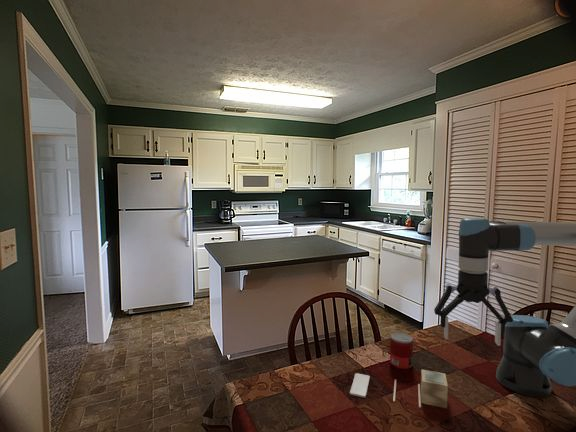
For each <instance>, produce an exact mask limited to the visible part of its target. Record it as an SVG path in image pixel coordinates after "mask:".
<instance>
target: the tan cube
mask: <svg viewBox="0 0 576 432" xmlns="http://www.w3.org/2000/svg"><path fill="white" fill-rule="evenodd" d="M420 371H421V374H420V400H421V404H424V405H429V406H433V407H438V408H443V409H448V393H449V392H448V389H449V387H448V386H449V385H448V380H447V375H446V373H444V372H443V373H442V372H438V371H432V370H428V369H421V370H420Z"/></svg>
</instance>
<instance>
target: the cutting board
mask: <svg viewBox="0 0 576 432" xmlns="http://www.w3.org/2000/svg"><path fill="white" fill-rule="evenodd" d="M353 377H354V378H353V382H352V384H351V387H350V390H349V395H351V396H355V397H358V398H364V399H366V395H367V393H368V386H369V382H370V379H371V378H370V377H371V376H370V375H367V374H364V373H363V374H362V373H356V372H355V374H354V376H353ZM393 386H394V387H393V395H392V396H393V398H392V399H393V400H392V402H393V403H395V402H396V391H397V390H396V389H397V379H396V378H395V379H394V385H393ZM417 390H418V391H417V393H418V408H419V409H421V408H422V405H421V404H422V401H421V383H418V384H417Z"/></svg>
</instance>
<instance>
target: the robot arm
mask: <svg viewBox="0 0 576 432" xmlns="http://www.w3.org/2000/svg"><path fill="white" fill-rule="evenodd" d="M534 246H557V247H558V246H559V247H560V246H561V247H564V246H565V247H576V222H557V221H556V222H555V221H553V222H551V221H549V222H548V221H511V220H509V221H508V220H507V221H505V220H502V221H500V220H489V219H488V218H485V217H484V218H483V217H464V218H462V219H461V220H460V222H459V230H458V269H459V270H458V272H457V273H458V274H457V275H458V276H457V277H458V279H457V280H458V281H457V285H451V284H450V283H447V284H446V286H445V291H444V292H443V294H442V296H441V297H440V300H439V301H438V303H437V304H436V305H435V307H434V309H433V311H434V314H435V315H437V316H439V317H440V320H439V321H440V326H441V328H443V337H444V339H445V340H449V317H448V315H449V314H450V313H452V312H453V311H454V309H456V308H457V307H458V306H459V305H460V304H462V303H463V302H464V301H465V302H466V303H476V304H479V303H481V302H482V303H483V304H484V305H485V306H486V308H488V309H489V311H490V312H491V313H492V314H493V315H494V316H495V318H496V319H495V324H494V325H495V326H494V343H495V344H496V346H498V347H500V346H501V339H502V337H501V336H502V335H503V352H502V358H501V360H500V362H499V363H498V365H497V368H496V374H495V378H496V380H497V381H498V382H499V384H500V385H502V386H503V387H505V388H507V389H508V390H510V391H513V392H515V393H517V394H520V395H523V396H527V397H532V398H546V397H549V396H550V395H551V394H552V381H553V382H554V383H557V384H559V385H562V386H565V387H576V305H574V307H572V309H571V310H570V311H569V313H568V314H567V315H566V316H565V317H564V319H563V320H561V322H559V323H551V324H550V325H549V322H548V321H547V320H545V319H543V318H541V317H536V316H532V315H524V314H522V315H521V314H512V315H511V313H510V311H509V310H508V308H507V306H506V304H505V302H504V300H503V298H502V295H501V290H500V289H499V288H498V287H497V286H495V287H492V288H491V287H490V288H488V287H489V286H488V284H489V282H488V279H489V278H488V276H489V275H488V274H489V273H488V272H489V253H490V251H491V252H493V251H502V252H503V251H506V252H507V251H509V252H510V251H511V252H512V251H513V252H522V251H529V250H531V249H533V248H534ZM455 292H457V293H458V294H457V295H456V296H455V298H453V299H452V300H451V301H450V302H449V303H447V301H448V300H449V298H450V297H451V294H453V293H455ZM489 294H491V296H492V297H494V299H495V300H496V302H497V305H498V306H499V308H500V310H501V311H502V313H503V315H504V316H503V315H501V314H500V313H499V311H497V309H496V308H495V307H494V306H493V305H492V304H491V303H490V302H489V300H488V299H487V296H488V295H489ZM446 304H447V305H446ZM445 305H446V306H445ZM551 380H552V381H551Z"/></svg>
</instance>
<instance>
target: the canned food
mask: <svg viewBox="0 0 576 432" xmlns="http://www.w3.org/2000/svg"><path fill="white" fill-rule="evenodd" d="M389 343H390V344H389V363H390V364H391V366H393V367H395V368H398V369H403V370H407V369H408V370H409V369H410V368H412V367H413V355H414V353H413V351H414V339H413V337H412V336H411V335H409V334H407V333H403V332H393V333H391V334H390V339H389Z"/></svg>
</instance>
